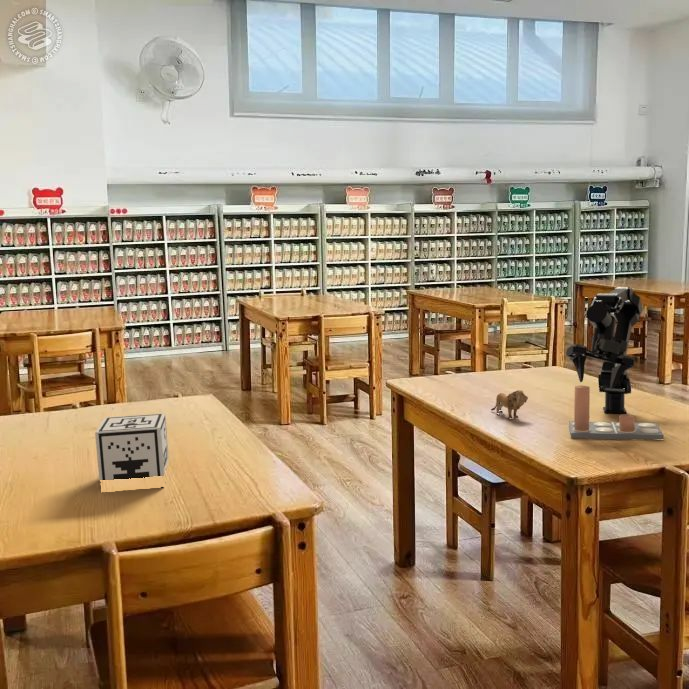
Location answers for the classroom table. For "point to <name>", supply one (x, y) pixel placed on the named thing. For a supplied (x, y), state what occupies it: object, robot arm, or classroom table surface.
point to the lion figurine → (510, 402)
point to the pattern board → (618, 430)
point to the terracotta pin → (581, 408)
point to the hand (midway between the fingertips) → (596, 385)
